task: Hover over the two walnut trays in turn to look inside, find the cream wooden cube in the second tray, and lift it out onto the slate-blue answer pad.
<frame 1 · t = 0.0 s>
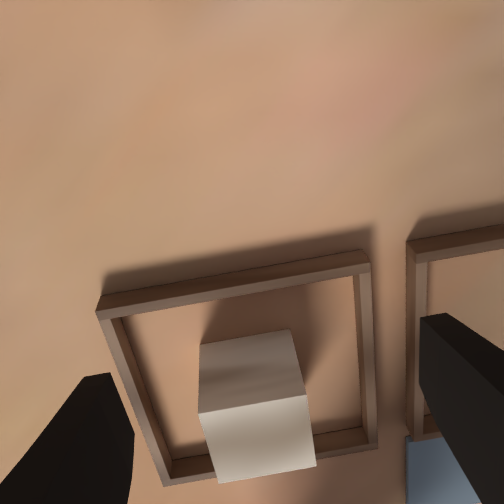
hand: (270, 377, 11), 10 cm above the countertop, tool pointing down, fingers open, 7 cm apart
cube: (251, 369, 24), resting in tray
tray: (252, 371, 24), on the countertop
answer pad: (485, 461, 29), on the countertop
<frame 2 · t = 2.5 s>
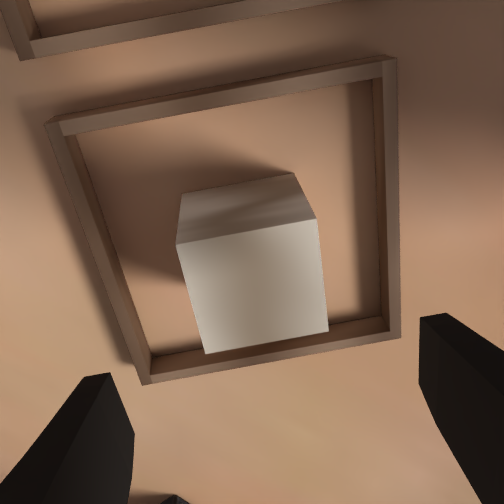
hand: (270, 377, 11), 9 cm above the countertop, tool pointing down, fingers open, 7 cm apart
cube: (247, 232, 20), resting in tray
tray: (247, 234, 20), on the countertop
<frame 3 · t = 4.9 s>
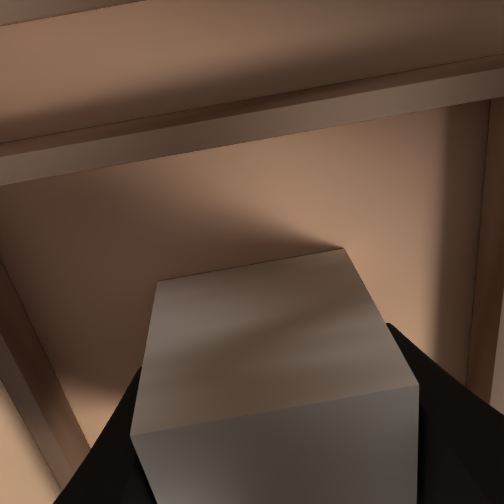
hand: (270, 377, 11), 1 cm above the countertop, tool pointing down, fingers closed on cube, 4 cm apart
cube: (264, 338, 12), resting in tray, touching gripper
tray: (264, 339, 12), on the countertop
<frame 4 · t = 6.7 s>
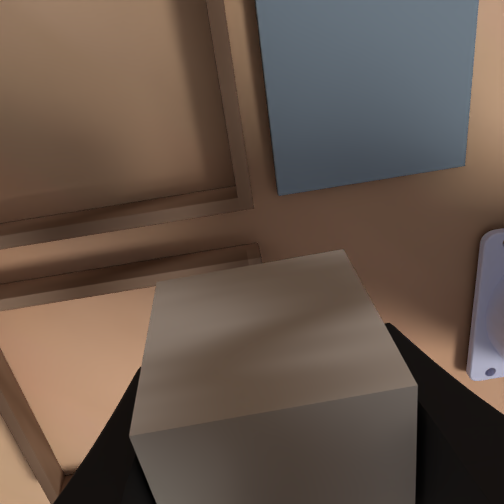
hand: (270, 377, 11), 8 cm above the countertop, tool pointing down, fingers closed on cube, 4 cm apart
cube: (263, 339, 12), point 7 cm above the countertop, touching gripper
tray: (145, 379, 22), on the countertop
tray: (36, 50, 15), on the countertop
answer pad: (366, 33, 15), on the countertop
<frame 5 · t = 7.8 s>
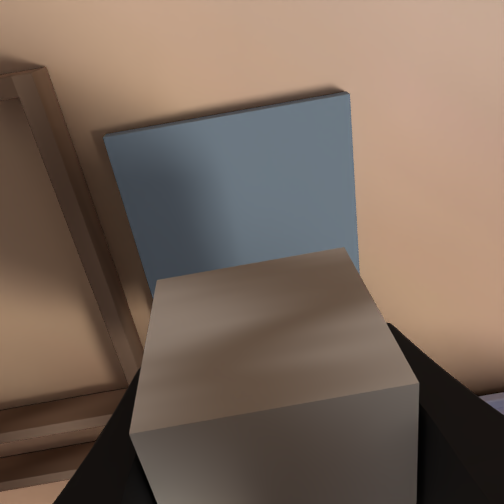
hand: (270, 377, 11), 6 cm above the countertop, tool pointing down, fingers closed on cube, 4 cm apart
cube: (263, 337, 12), point 4 cm above the countertop, touching gripper
answer pad: (252, 262, 16), on the countertop
when the fingers open (3 cm above the countertop, at t = 8.7 s): cube stays where it is, resting on answer pad.
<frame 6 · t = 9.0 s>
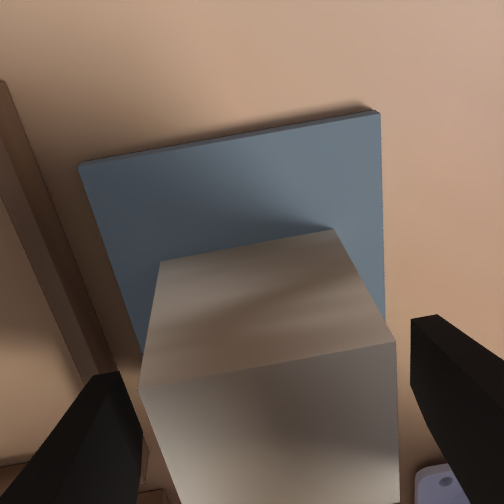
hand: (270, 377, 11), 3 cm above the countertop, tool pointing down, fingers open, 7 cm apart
cube: (260, 315, 13), resting on answer pad
answer pad: (259, 308, 13), on the countertop
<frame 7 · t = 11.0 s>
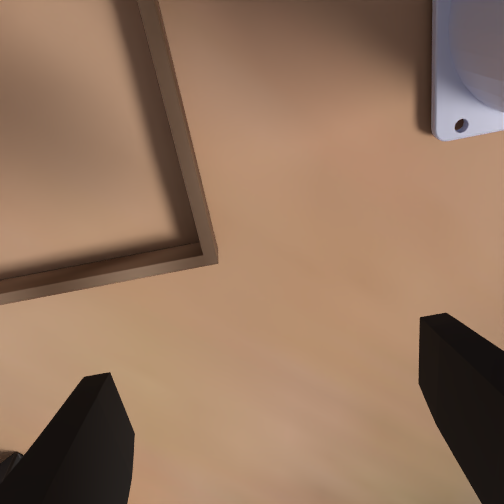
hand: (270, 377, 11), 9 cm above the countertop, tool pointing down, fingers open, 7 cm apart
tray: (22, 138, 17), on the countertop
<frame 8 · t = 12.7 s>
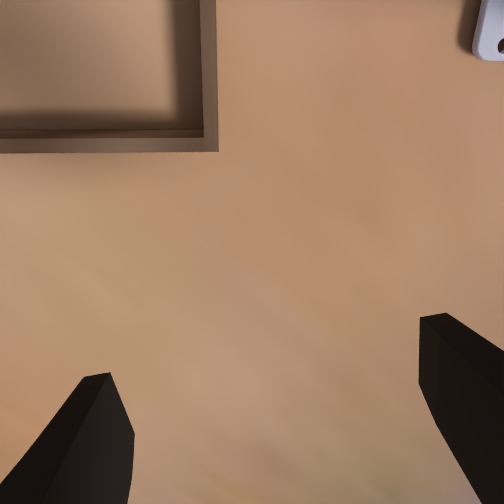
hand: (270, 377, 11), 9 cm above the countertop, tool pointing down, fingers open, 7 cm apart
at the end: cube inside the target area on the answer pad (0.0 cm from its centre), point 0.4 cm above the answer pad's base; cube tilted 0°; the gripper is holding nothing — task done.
